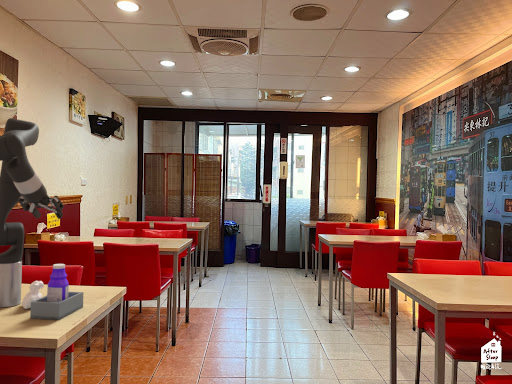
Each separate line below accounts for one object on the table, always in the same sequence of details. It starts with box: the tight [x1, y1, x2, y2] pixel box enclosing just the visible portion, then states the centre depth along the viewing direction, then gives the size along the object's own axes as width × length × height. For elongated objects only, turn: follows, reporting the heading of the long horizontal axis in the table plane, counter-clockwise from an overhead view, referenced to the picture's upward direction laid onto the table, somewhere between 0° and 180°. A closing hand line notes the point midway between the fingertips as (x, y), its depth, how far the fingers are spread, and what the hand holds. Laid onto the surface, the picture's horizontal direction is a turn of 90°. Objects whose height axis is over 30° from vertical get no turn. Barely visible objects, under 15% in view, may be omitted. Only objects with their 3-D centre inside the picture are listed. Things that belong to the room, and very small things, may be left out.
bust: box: [21, 280, 45, 310], centre depth 151 cm, size 12×8×11 cm
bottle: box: [46, 263, 70, 302], centre depth 144 cm, size 7×6×17 cm
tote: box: [29, 291, 84, 321], centre depth 144 cm, size 11×16×6 cm
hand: (49, 217), depth 141 cm, fingers open, 8 cm apart
